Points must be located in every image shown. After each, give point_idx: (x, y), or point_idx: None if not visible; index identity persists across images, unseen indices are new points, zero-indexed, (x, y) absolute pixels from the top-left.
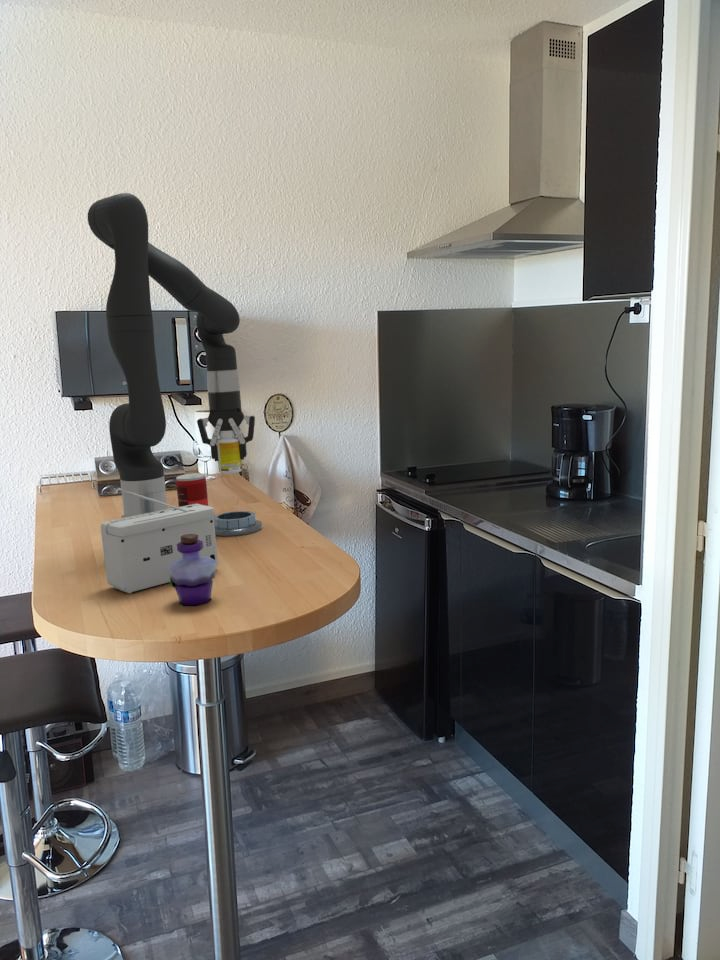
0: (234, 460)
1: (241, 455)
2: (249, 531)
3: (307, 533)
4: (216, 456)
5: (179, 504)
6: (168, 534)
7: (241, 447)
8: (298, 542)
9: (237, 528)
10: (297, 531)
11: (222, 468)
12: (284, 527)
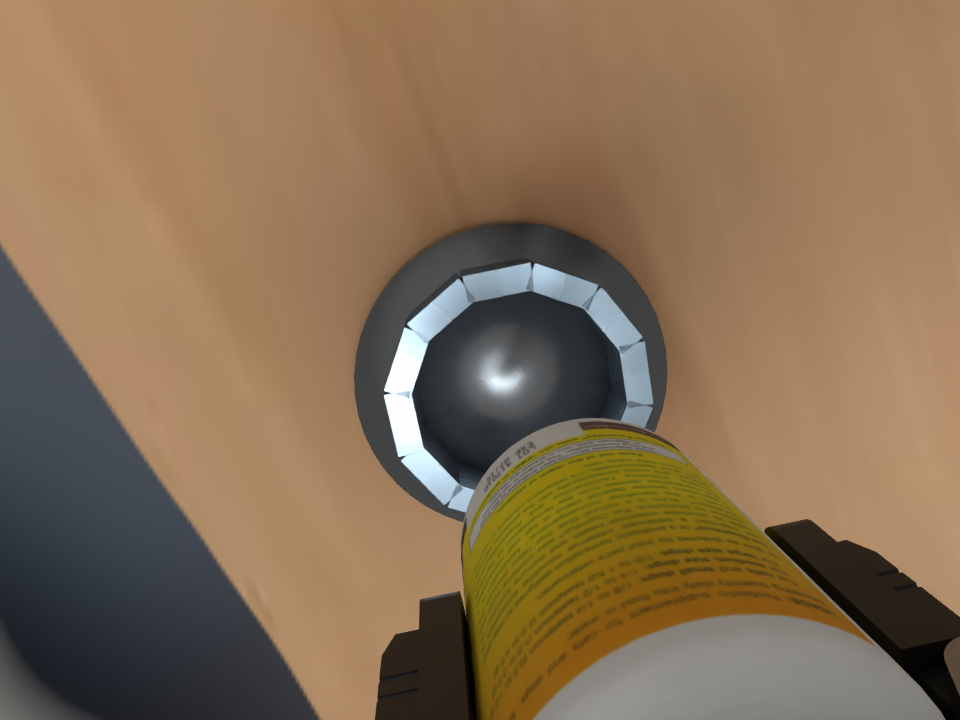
0: (523, 502)
1: (445, 619)
2: (396, 274)
3: (34, 253)
4: (806, 548)
5: None
6: None
7: (437, 709)
8: (19, 31)
9: (466, 268)
10: (115, 308)
11: (661, 442)
12: (228, 411)
